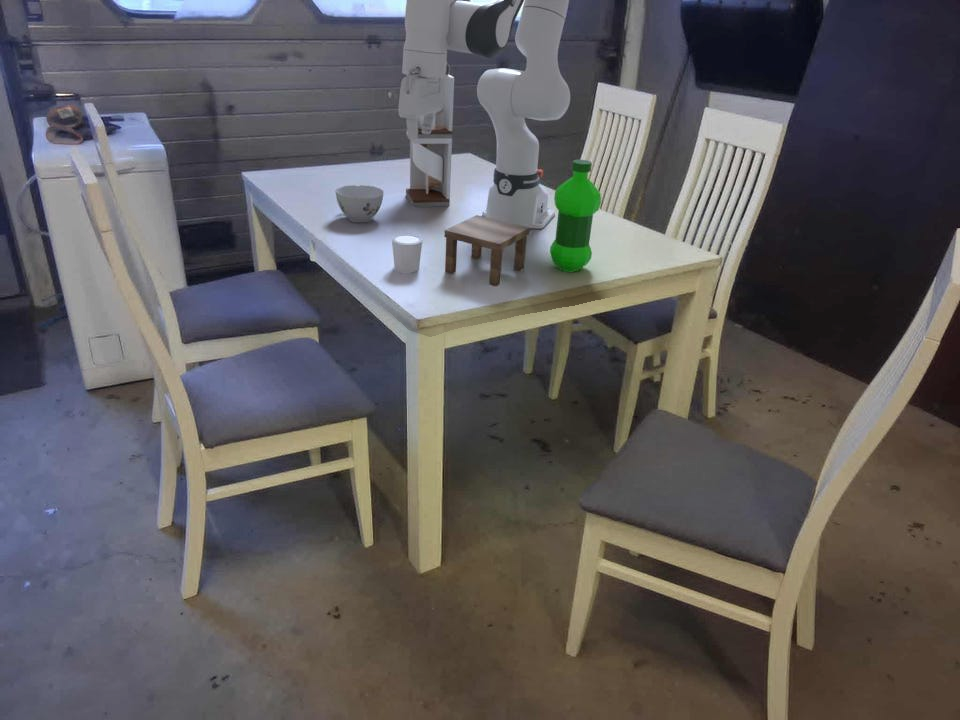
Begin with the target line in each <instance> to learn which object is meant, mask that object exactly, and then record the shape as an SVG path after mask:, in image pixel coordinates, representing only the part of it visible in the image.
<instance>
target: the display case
mask: <svg viewBox="0 0 960 720" xmlns="http://www.w3.org/2000/svg"><path fill="white" fill-rule="evenodd" d="M445 77H446V87H445V94H444V101H443V105H442V108H441V110H440V111H437V112H435V114H434V120H433V123H432V128H431V133H430V134H423V133H422V125H423V121H424V116H422V117H419V118H418V123H417V131H418V138H417V139H416V140H410V139H409V142H410V143H409V146H410V147H409V153H410V154H409V159H410V160H409V188H405V196H406V198H407V199H408V201H409V202H410V204H411V206H412V207H414V208H416V207H417V208H419V207H422V208H423V207H425V208H426V207H449V206H451V205H450V203H451V202H450V201H451V200H450V199H451V177H452V149H453V148H452V147H453V126H454V125H453V124H454V123H453V122H454V100H455V99H454V98H455V97H454V96H455V95H454V94H455V93H454V92H455V77H454V76H453V75H450V74H449V75H448V76H445ZM405 123H406V122H405ZM405 126H406V130H405V132H406V136H407V137H408V128H407V123H406V125H405Z"/></svg>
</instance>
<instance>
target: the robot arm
mask: <svg viewBox="0 0 960 720" xmlns="http://www.w3.org/2000/svg"><path fill="white" fill-rule="evenodd" d="M569 3H570V0H491V1H484V2H477V1H467V0H406V5H405V12H404V13H405V15H404V29H405V42H404V44H403V51H402V53H403V54H402V66H401V67H402V70H401V73H402V74H403V75H406V76H404V77H403V78H402V79H401V83H400V91H399V98H398V99H399V100H398V115H399V117H400V118H403V119H406V120H405V123H407V128H408V136H407V139H408V140H409V141H410V140H416V139H417V138H418V131H417V123H418V118H419V117H422V116H424V121H423V125H422V133H423V134H430V133H431V128H432V123H433V120H434V114H435V112H437V111H440V110H441V108H442V105H443V101H444V94H445V87H446V77H445V76H448V75H450V70H451V69H450V65H449V63H448V61H447V60H448V59H447V58H448V57H447V56H448V51H453V52H456V53H457V52H459V53H466V54H472V55H474V56H475V55H476V56H479V57H481V58H486V59H493V58H495V57H497V56H498V55H499V54H500V53H501V52H502V51H503V50H504V49H505V48H506V46H507V45H508V42H509V39H510V36H511V33H512V29H513V25H514V23H515V21H516V19H517V17H518V14H519V13H520V17H519V20H518V25H517V28H516V32H515V36H514V41H515V45H516V47H517V50H518V51H519V52H520V53H521V54H522V55H523V56H524V57H525V59H526V66H525V70H518V69H513V68H505V67H501V68H493V69H492V68H490V69H487V70H485V71H484V72H483V73H482V74H481V76H480V77H479V79H478V83H477V85H476V95H477V99H478V102H479V104H480V106H482V107H483V109H484V110H485V112H487V114H488V115H489V118H490V120H491V122H492V125H493V128H494V131H495V137H496V161H495V167H494V170H493V174H492V175H493V176H492V177H493V182H492V183H493V185H491V186H489V188H488V196H487V200H486V201H487V202H486V207H485V208H486V210H485V209H484V210H483V211H482V215H481V216H483V217H487V218H491V219H495V220H500V221H504V222H508V223H512V224H516V225H521V226H525V227H529V229H538V230H539V229H544V228H545V226H546V225H547V224H548V223H549V222H550V221H551V220H552V219H553V217H554V216H555V215H556V212H555V210H553V209H551V208H548V204H549V203H548V201H549V196H548V193H547V192H545V190H544V189H543V188H542V187H541V186H540V178H542V177H543V175H544V170H543V169H538V164H539V156H540V155H539V154H540V153H539V152H540V142H539V139H538V138H537V137H536V135H535V134H534V133H533V132H532V131H531V130H530V128H529V127H528V126H527V123H526V119H529V120H530V119H531V120H536V121H542V122H543V121H557V120H560V119H561V118H562V117H563V116H564V115H565V114H566V112H567V110H568V109H569V107H570V102H571V91H570V88H569V85H568V84H567V82H566V80H565V79H564V77H563V76H562V74H561V72H560V67H559V62H558V61H559V59H558V54H559V47H560V42H561V38H562V34H563V29H564V24H565V22H566V17H567V13H568V9H569ZM522 5H523V6H522ZM521 8H522V9H521ZM520 10H521V12H520Z"/></svg>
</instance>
